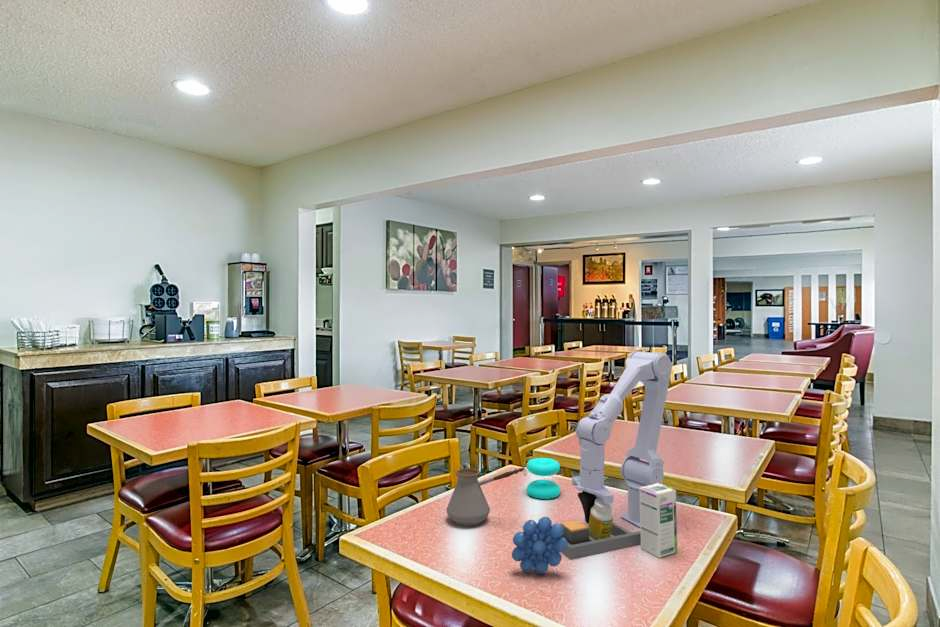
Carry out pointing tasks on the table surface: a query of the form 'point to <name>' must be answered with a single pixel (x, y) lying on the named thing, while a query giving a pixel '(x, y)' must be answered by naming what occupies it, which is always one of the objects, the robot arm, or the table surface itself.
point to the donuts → (543, 487)
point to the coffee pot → (471, 497)
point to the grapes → (539, 545)
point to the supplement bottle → (600, 520)
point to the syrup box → (658, 519)
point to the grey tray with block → (586, 545)
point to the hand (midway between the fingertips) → (590, 523)
